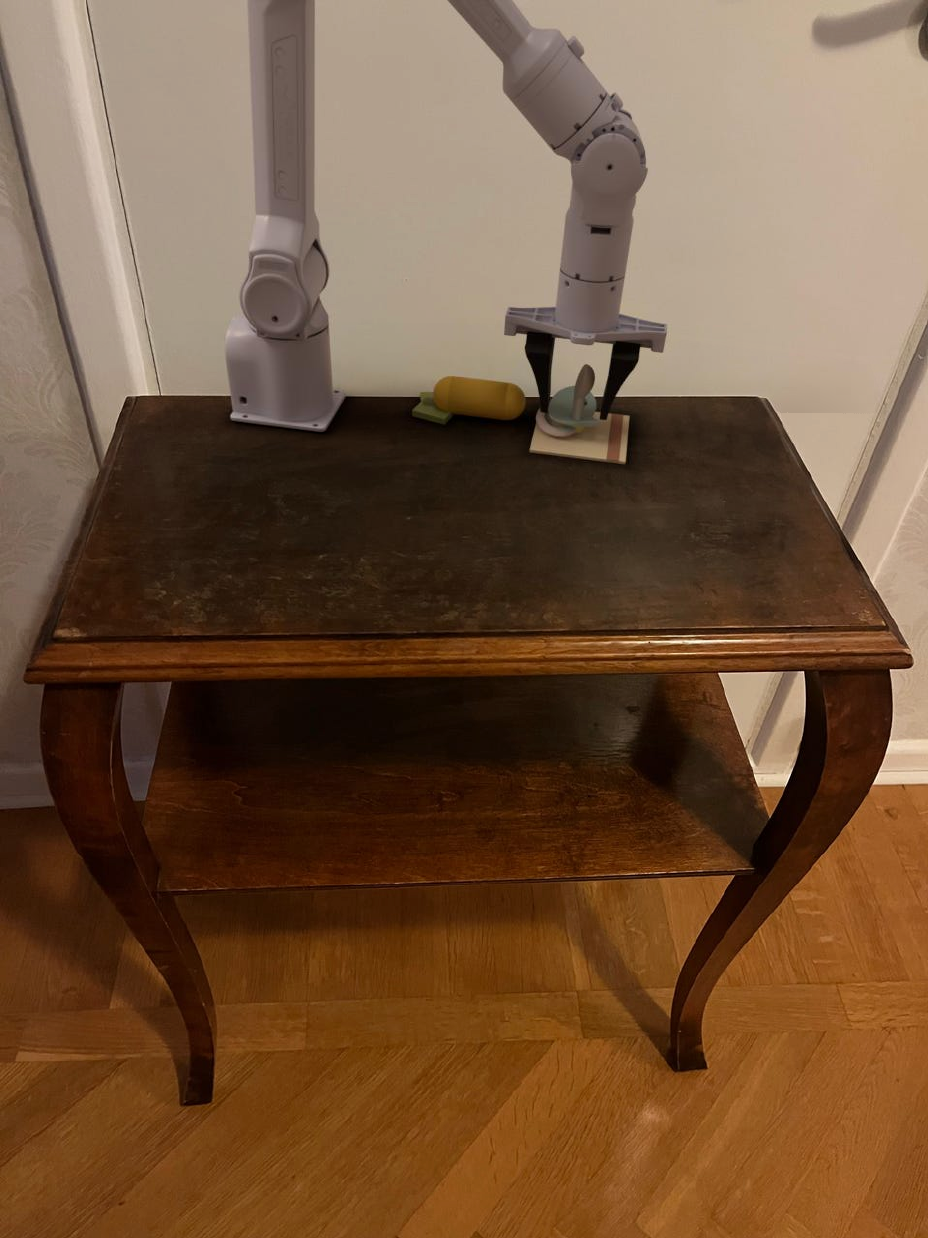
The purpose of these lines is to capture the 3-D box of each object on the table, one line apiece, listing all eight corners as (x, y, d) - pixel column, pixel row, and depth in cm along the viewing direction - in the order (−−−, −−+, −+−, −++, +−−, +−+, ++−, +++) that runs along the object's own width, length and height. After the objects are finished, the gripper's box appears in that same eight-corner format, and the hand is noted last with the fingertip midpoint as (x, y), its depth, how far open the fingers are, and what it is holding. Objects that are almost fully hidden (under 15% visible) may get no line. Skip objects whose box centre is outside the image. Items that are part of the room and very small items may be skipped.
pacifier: (536, 443, 86) (599, 444, 86) (540, 382, 82) (607, 383, 82) (534, 406, 92) (593, 407, 92) (538, 347, 88) (600, 348, 87)
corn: (409, 420, 89) (409, 386, 86) (422, 393, 93) (422, 360, 91) (520, 434, 88) (523, 400, 85) (527, 406, 92) (530, 373, 90)
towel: (529, 452, 85) (529, 449, 85) (540, 407, 92) (540, 404, 92) (625, 464, 84) (625, 461, 84) (629, 418, 91) (629, 415, 91)
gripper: (503, 278, 77) (494, 421, 85) (676, 296, 75) (648, 440, 84) (514, 250, 82) (504, 388, 91) (676, 266, 80) (650, 405, 89)
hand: (574, 411), depth 88 cm, fingers closed on pacifier, 5 cm apart
